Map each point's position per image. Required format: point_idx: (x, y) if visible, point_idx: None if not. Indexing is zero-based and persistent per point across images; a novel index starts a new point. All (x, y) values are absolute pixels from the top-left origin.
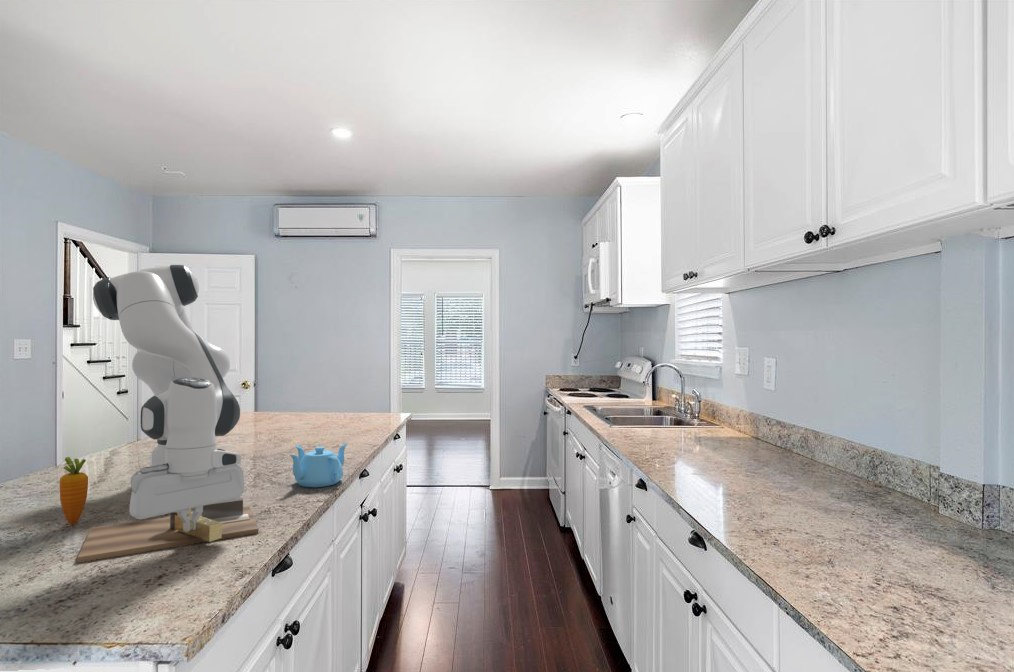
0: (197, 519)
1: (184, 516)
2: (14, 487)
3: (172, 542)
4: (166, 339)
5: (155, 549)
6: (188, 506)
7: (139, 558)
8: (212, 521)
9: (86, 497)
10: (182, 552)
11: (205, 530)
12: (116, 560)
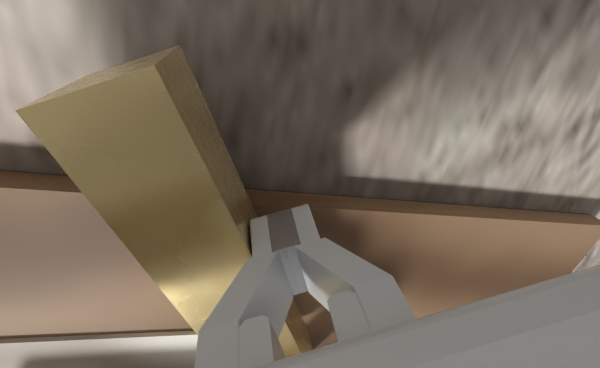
0: (246, 266)
1: (366, 275)
2: None
3: (347, 208)
4: None
5: (399, 202)
6: (390, 358)
7: (474, 140)
8: (125, 204)
9: None
10: (322, 98)
11: (198, 121)
12: (526, 169)
